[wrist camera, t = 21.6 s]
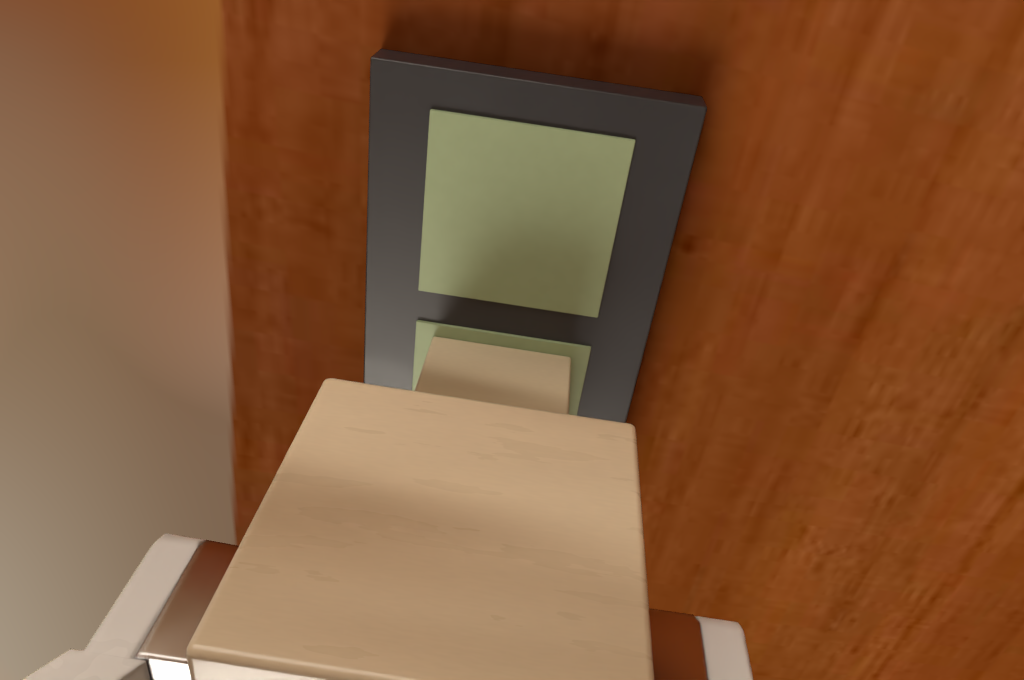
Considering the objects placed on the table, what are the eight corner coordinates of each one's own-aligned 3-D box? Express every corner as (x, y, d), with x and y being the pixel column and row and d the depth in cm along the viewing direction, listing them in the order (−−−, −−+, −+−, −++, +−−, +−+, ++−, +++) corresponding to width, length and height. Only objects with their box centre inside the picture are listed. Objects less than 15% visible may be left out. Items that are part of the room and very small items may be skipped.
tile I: (583, 622, 12) (578, 939, 8) (327, 583, 12) (217, 882, 8) (637, 421, 10) (661, 737, 6) (323, 373, 10) (174, 661, 6)
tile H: (551, 461, 24) (543, 563, 20) (424, 442, 24) (395, 540, 20) (571, 356, 22) (567, 449, 18) (432, 335, 22) (402, 424, 18)
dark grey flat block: (603, 485, 26) (604, 508, 25) (369, 449, 26) (360, 470, 25) (702, 95, 19) (708, 108, 18) (380, 48, 19) (369, 57, 18)
